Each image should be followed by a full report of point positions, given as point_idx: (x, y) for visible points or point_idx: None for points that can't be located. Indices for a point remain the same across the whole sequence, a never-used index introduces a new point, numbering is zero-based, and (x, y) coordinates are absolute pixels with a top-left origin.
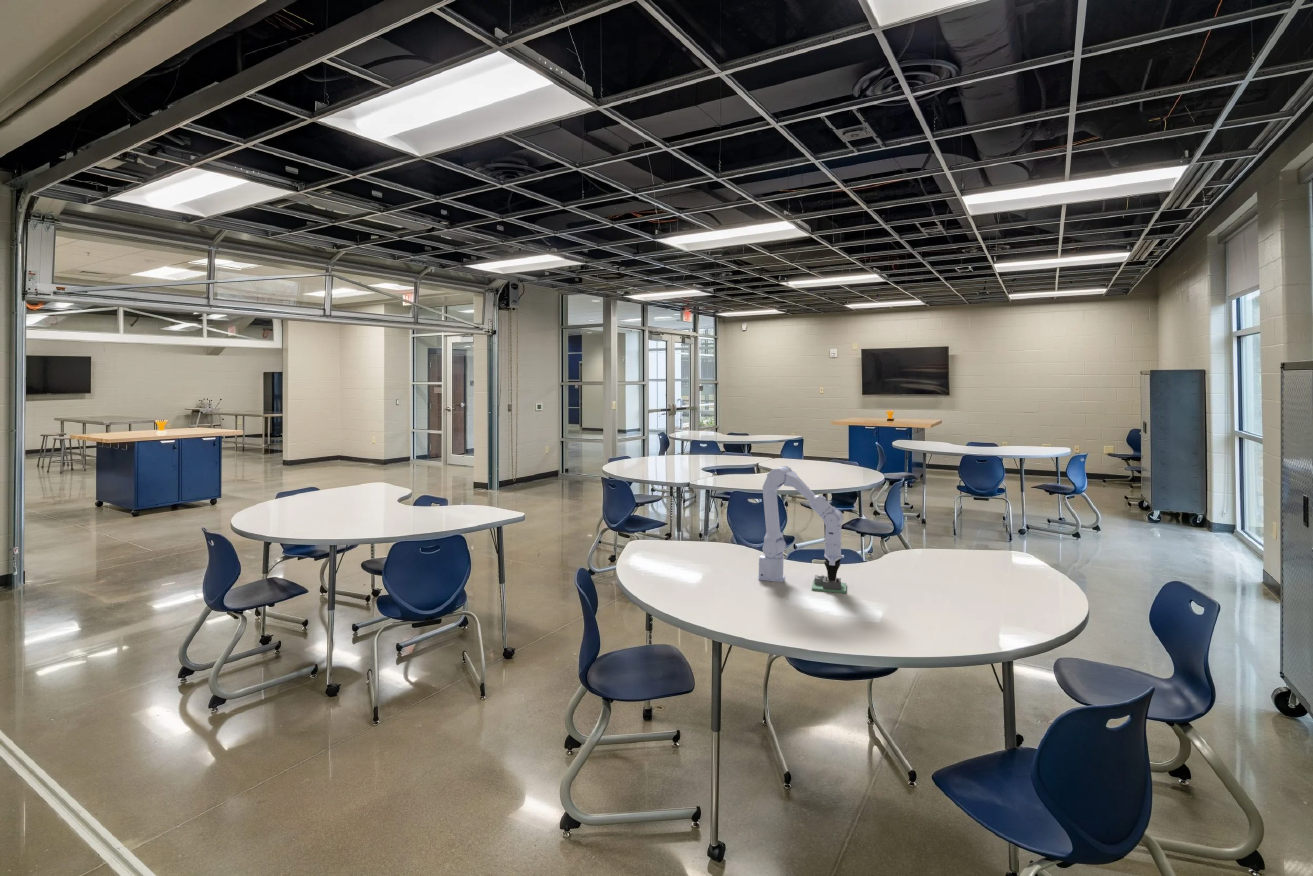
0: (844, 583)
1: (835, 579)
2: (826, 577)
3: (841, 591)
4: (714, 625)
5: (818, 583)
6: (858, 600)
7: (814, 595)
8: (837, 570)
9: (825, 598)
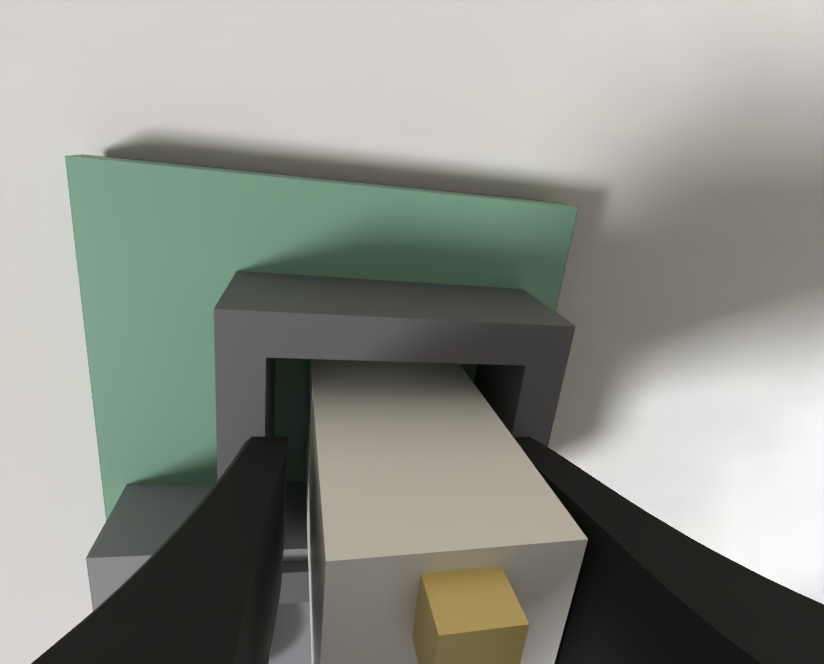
0: (122, 195)
1: (500, 442)
2: None
3: (561, 274)
4: None
5: None
6: (810, 33)
7: None
8: (808, 598)
9: (714, 449)
